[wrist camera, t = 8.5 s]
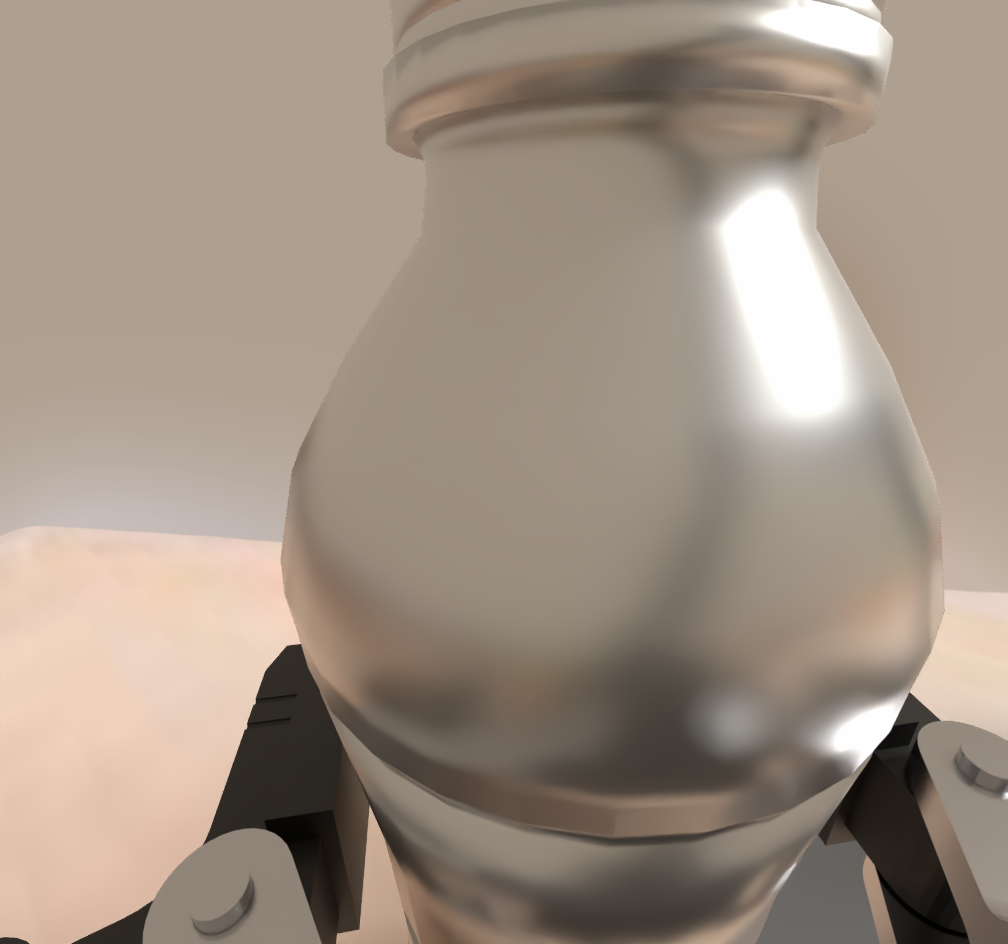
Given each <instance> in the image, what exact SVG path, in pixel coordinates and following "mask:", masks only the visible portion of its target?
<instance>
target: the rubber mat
mask: <svg viewBox="0 0 1008 944" xmlns="http://www.w3.org/2000/svg"><path fill="white" fill-rule="evenodd" d="M866 856H867V854H866V853H865V852H864V850H863V849H862V848H861V846H860V845H859V843H858V842H857V841H856V840H855V841H850V842H844V843H839V844H833V845H828V846H825V844H824V843H823V841H822V840H821V838H820V837H819V835H818V836H817V837H816V839H815V840H814V842H813V843H812V845H811V846H810V848H809V849H808V850H807V852H806V853H805V855H804V856H803V858H802V859H801V861H800V862H799V864H798V865H797V867H796V868H795V869H794V871H793V872H792V874H791V875H790V877H789V878H788V880H787V881H786V883H785V884H784V886H783V887H782V889H781V890H780V891H779V893H778V894H777V896H776V898H775V900H774V903H773V905H772V907H771V910H770V912H769V914H768V917H767V919H766V922H765V924H764V926H763V929H762V931H761V933H760V935H759V938H758V940H757V942H756V944H880V942H879V938H878V934H877V930H876V926H875V922H874V919H873V915H872V911H871V907H870V903H869V899H868V895H867V891H866V887H865V883H864V878H863V865H864V861H865V859H866Z"/></svg>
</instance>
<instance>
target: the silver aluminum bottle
mask: <svg viewBox="0 0 1008 944" xmlns="http://www.w3.org/2000/svg"><path fill="white" fill-rule="evenodd" d="M887 3H888V0H390V7H391V22H392V37H393V38H392V39H393V55H394V57H393V58H392V59H391V60H390V62H389V63H388V64H387V66H386V67H385V68H384V69H383V81H382V84H383V98H384V114H385V127H386V143H387V145H388V146H390V147H391V148H392V149H393V150H394V151H396V152H398V153H401V154H404V155H406V156H408V157H412V158H416V159H420V160H424V161H425V168H426V189H425V199H424V209H423V219H422V229H421V235H420V237H419V238H418V239H417V241H416V243H415V244H414V246H413V247H412V249H411V251H410V252H409V254H408V256H407V257H406V259H405V260H404V262H403V264H402V265H401V267H400V268H399V270H398V272H397V273H396V275H395V276H394V278H393V280H392V281H391V283H390V284H389V286H388V288H387V289H386V291H385V293H384V294H383V296H382V297H381V299H380V300H379V302H378V304H377V305H376V307H375V308H374V310H373V312H372V313H371V315H370V317H369V318H368V320H367V321H366V323H365V324H364V326H363V328H362V330H361V331H360V332H359V334H358V336H357V337H356V339H355V340H354V342H353V344H352V345H351V347H350V349H349V350H348V352H347V353H346V355H345V357H344V359H343V361H342V363H341V365H340V367H339V369H338V371H337V373H336V375H335V377H334V379H333V381H332V383H331V385H330V388H329V390H328V392H327V394H326V396H325V398H324V400H323V402H322V404H321V406H320V408H319V410H318V412H317V414H316V416H315V418H314V420H313V422H312V424H311V426H310V429H309V431H308V432H307V435H306V437H305V439H304V441H303V443H302V445H301V447H300V450H299V452H298V455H297V458H296V461H295V463H294V466H293V469H292V474H291V482H290V490H289V498H288V506H287V513H286V521H285V529H284V536H283V544H282V552H281V567H282V575H283V584H284V592H285V597H286V600H287V603H288V606H289V608H290V611H291V614H292V617H293V620H294V623H295V626H296V629H297V632H298V635H299V639H300V642H301V645H302V649H303V652H304V655H305V658H306V662H307V665H308V668H309V670H310V672H311V674H312V676H313V678H314V680H315V682H316V684H317V686H318V687H319V689H320V694H321V696H322V698H323V700H324V703H325V705H326V707H327V709H328V712H329V714H330V716H331V718H332V721H333V723H334V725H335V727H336V730H337V732H338V734H339V736H340V739H341V741H342V743H343V745H344V748H345V750H346V752H347V755H348V757H349V759H350V761H351V764H352V766H353V768H354V770H355V773H356V775H357V777H358V779H359V782H360V784H361V786H362V788H363V791H364V793H365V795H366V797H367V800H368V802H369V804H370V806H371V809H372V811H373V813H374V815H375V818H376V820H377V822H378V825H379V827H380V829H381V831H382V834H383V836H384V838H385V841H386V845H387V849H388V853H389V857H390V860H391V864H392V868H393V872H394V876H395V880H396V884H397V887H398V891H399V895H400V899H401V903H402V907H403V909H404V913H405V917H406V921H407V925H408V944H756V942H757V940H758V938H759V935H760V933H761V931H762V929H763V926H764V924H765V922H766V919H767V917H768V914H769V912H770V910H771V907H772V905H773V903H774V900H775V898H776V896H777V894H778V893H779V891H780V890H781V889H782V887H783V886H784V884H785V883H786V881H787V880H788V878H789V877H790V875H791V874H792V872H793V871H794V869H795V868H796V867H797V865H798V864H799V862H800V861H801V859H802V858H803V856H804V855H805V853H806V852H807V850H808V849H809V848H810V846H811V845H812V843H813V842H814V840H815V839H816V837H817V836H818V834H819V833H820V831H821V830H822V829H823V827H824V826H825V824H826V823H827V821H828V820H829V818H830V817H831V815H832V814H833V812H834V811H835V809H836V808H837V807H838V805H839V804H840V802H841V801H842V799H843V798H844V796H845V795H846V793H847V792H848V790H849V789H850V788H851V786H852V785H853V783H854V782H855V780H856V779H857V777H858V776H859V774H860V773H861V771H862V770H863V769H864V767H865V766H866V764H867V763H868V761H869V760H870V758H871V756H872V754H873V751H874V749H875V748H876V747H877V746H878V745H879V744H880V743H881V741H882V740H883V739H884V738H885V737H886V736H887V735H888V734H889V733H890V731H891V729H892V726H893V724H894V722H895V720H896V718H897V716H898V714H899V712H900V710H901V708H902V706H903V704H904V702H905V700H906V698H907V696H908V694H909V692H910V690H911V688H912V686H913V684H914V682H915V680H916V678H917V677H918V675H919V673H920V671H921V669H922V667H923V666H924V664H925V662H926V660H927V658H928V656H929V655H930V653H931V650H932V647H933V644H934V641H935V638H936V635H937V632H938V629H939V626H940V623H941V620H942V617H943V614H944V611H945V609H944V585H943V561H942V540H941V539H942V538H941V513H940V502H939V497H938V492H937V488H936V483H935V478H934V476H933V473H932V471H931V468H930V465H929V463H928V460H927V458H926V455H925V453H924V450H923V447H922V445H921V442H920V440H919V437H918V434H917V432H916V429H915V427H914V424H913V422H912V419H911V417H910V414H909V411H908V409H907V406H906V404H905V401H904V399H903V396H902V394H901V391H900V388H899V386H898V383H897V381H896V378H895V375H894V373H893V370H892V368H891V365H890V364H889V362H888V360H887V358H886V356H885V354H884V352H883V351H882V349H881V347H880V345H879V343H878V342H877V340H876V338H875V336H874V334H873V332H872V331H871V328H870V327H869V325H868V323H867V321H866V319H865V317H864V316H863V314H862V312H861V310H860V308H859V307H858V305H857V303H856V301H855V299H854V297H853V295H852V294H851V292H850V290H849V288H848V287H847V284H846V283H845V281H844V279H843V277H842V275H841V273H840V271H839V270H838V268H837V266H836V264H835V262H834V260H833V259H832V257H831V255H830V253H829V251H828V249H827V247H826V246H825V244H824V242H823V240H822V238H821V236H820V235H819V233H818V231H817V229H816V220H817V197H818V173H819V167H820V162H821V157H822V153H823V149H824V147H825V146H829V145H832V144H835V143H839V142H842V141H846V140H848V139H851V138H853V137H855V136H858V135H860V134H862V133H865V132H866V131H867V130H869V129H870V128H871V127H872V126H873V125H875V124H876V121H877V116H878V112H879V108H880V104H881V99H882V95H883V91H884V87H885V83H886V78H887V74H888V70H889V66H890V61H891V57H892V50H893V38H892V37H891V35H890V34H889V33H888V32H887V31H886V30H885V29H884V28H883V27H882V24H883V20H884V16H885V11H886V7H887Z"/></svg>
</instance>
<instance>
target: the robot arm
mask: <svg viewBox="0 0 1008 944" xmlns="http://www.w3.org/2000/svg"><path fill="white" fill-rule="evenodd" d="M369 805H370V804H369V802H368V800H367V797H366V795H365V793H364V791H363V788H362V786H361V784H360V782H359V779H358V777H357V775H356V773H355V770H354V768H353V766H352V764H351V761H350V759H349V757H348V755H347V752H346V750H345V748H344V745H343V743H342V741H341V739H340V736H339V734H338V732H337V730H336V727H335V725H334V723H333V721H332V718H331V716H330V714H329V712H328V709H327V707H326V705H325V703H324V700H323V698H322V696H321V694H320V689H319V687H318V686H317V684H316V682H315V680H314V678H313V676H312V674H311V672H310V670H309V668H308V665H307V662H306V658H305V655H304V652H303V649H302V645H301V644H298V645H289V646H286V648H285V649H284V650H283V651H282V652H281V653H280V655H279V656H278V657H277V658H276V659H275V660H274V661H273V663H272V664H271V665H270V666H269V667H268V668H267V670H266V671H265V674H264V677H263V679H262V682H261V685H260V688H259V691H258V694H257V697H256V704H255V705H253V708H252V711H251V714H250V717H249V719H248V722H247V729H246V730H245V731H244V734H243V737H242V740H241V742H240V745H239V748H238V751H237V754H236V757H235V760H234V762H233V765H232V768H231V771H230V774H229V777H228V780H227V782H226V785H225V788H224V791H223V794H222V797H221V800H220V803H219V805H218V808H217V811H216V814H215V817H214V820H213V823H212V825H211V828H210V831H209V833H208V836H207V838H206V840H205V842H204V844H203V846H201V847H200V848H198V849H197V850H196V851H194V852H193V853H192V854H191V855H189V856H188V857H187V858H186V859H185V860H184V861H183V862H182V863H181V864H180V865H179V866H178V867H177V868H176V869H175V870H174V871H173V872H172V874H171V875H170V876H169V877H168V878H167V880H166V881H165V883H164V884H163V886H162V887H161V889H160V890H159V892H158V893H157V895H156V897H155V899H154V900H153V901H151V902H150V903H148V904H147V905H145V906H144V907H142V908H141V909H139V910H138V911H136V912H134V913H133V914H131V915H129V916H127V917H125V918H123V919H121V920H119V921H117V922H115V923H113V924H111V925H109V926H107V927H105V928H103V929H101V930H99V931H96V932H94V933H92V934H90V935H88V936H86V937H84V938H82V939H80V940H78V941H76V942H74V943H72V944H336V937H337V933H343V932H348V931H354V930H359V927H360V915H361V902H362V890H363V878H364V866H365V853H366V841H367V829H368V817H369ZM818 835H819V837H820V838H821V840H822V841H823V843H824V844H825V846H828V845H833V844H839V843H844V842H850V841H855V840H856V841H857V842H858V843H859V845H860V846H861V848H862V849H863V850H864V852H865V853H866V854H867V856H866V859H865V861H864V865H863V878H864V883H865V887H866V891H867V895H868V899H869V903H870V907H871V911H872V915H873V919H874V922H875V926H876V930H877V934H878V938H879V942H880V944H1008V741H1006V740H1004V739H1003V738H1001V737H999V736H997V735H995V734H993V733H990V732H988V731H986V730H983V729H981V728H978V727H975V726H972V725H968V724H964V723H959V722H953V721H941V720H940V719H938V718H937V717H936V716H935V715H934V714H933V713H932V712H931V711H930V710H929V709H927V708H926V707H925V706H924V705H923V704H922V703H921V702H920V701H919V700H918V699H917V698H915V697H914V696H913V695H912V694H911V693H910V692H909V694H908V696H907V698H906V700H905V702H904V704H903V706H902V708H901V710H900V712H899V714H898V716H897V718H896V720H895V722H894V724H893V726H892V729H891V731H890V733H889V734H888V735H887V736H886V737H885V738H884V739H883V740H882V741H881V743H880V744H879V745H878V746H877V747H876V748H875V749H874V751H873V754H872V756H871V758H870V760H869V761H868V763H867V764H866V766H865V767H864V769H863V770H862V771H861V773H860V774H859V776H858V777H857V779H856V780H855V782H854V783H853V785H852V786H851V788H850V789H849V790H848V792H847V793H846V795H845V796H844V798H843V799H842V801H841V802H840V804H839V805H838V807H837V808H836V809H835V811H834V812H833V814H832V815H831V817H830V818H829V820H828V821H827V823H826V824H825V826H824V827H823V829H822V830H821V831H820V833H819V834H818ZM0 944H29V943H28V942H27V941H24V940H21V939H18V938H9V937H3V938H0Z"/></svg>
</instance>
